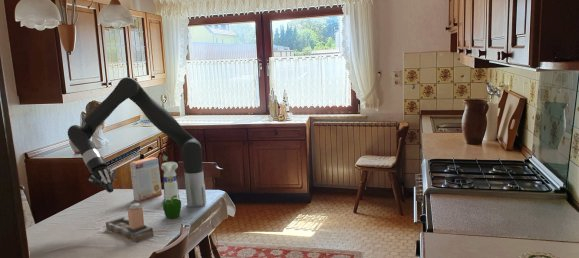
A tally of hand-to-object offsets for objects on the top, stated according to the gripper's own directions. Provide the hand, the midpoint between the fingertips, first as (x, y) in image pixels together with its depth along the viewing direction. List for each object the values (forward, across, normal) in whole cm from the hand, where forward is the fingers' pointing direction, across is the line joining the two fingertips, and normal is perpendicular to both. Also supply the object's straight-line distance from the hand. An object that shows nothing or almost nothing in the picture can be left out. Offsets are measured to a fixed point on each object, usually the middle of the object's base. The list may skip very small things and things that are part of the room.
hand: (111, 191), depth 197 cm
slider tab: (+23, 0, -3) cm, 23 cm away
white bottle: (+4, +39, +20) cm, 44 cm away
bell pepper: (+20, +23, +4) cm, 31 cm away
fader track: (+20, 0, +4) cm, 20 cm away
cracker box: (-6, +34, +30) cm, 46 cm away
